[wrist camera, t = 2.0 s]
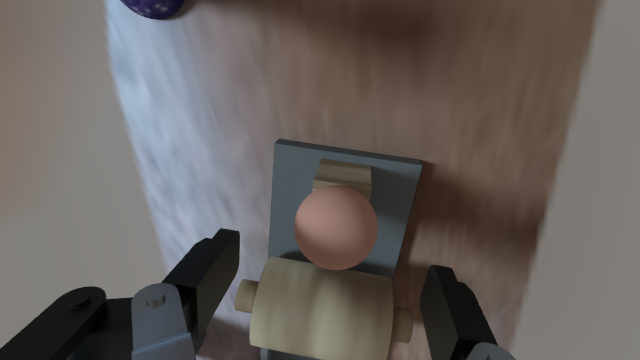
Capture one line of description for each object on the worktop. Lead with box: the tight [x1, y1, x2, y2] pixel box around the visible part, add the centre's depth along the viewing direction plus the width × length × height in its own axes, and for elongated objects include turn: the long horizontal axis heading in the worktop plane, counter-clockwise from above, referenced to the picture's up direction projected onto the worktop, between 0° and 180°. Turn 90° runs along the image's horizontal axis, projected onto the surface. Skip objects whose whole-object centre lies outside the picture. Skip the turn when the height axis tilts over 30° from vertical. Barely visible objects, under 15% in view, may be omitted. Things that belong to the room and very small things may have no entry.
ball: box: [294, 185, 378, 270], centre depth 15 cm, size 4×4×4 cm
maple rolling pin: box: [235, 256, 413, 360], centre depth 21 cm, size 11×6×6 cm, turn 83°
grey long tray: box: [260, 139, 422, 360], centre depth 23 cm, size 23×9×3 cm, turn 173°
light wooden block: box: [312, 158, 372, 201], centre depth 19 cm, size 3×3×4 cm
